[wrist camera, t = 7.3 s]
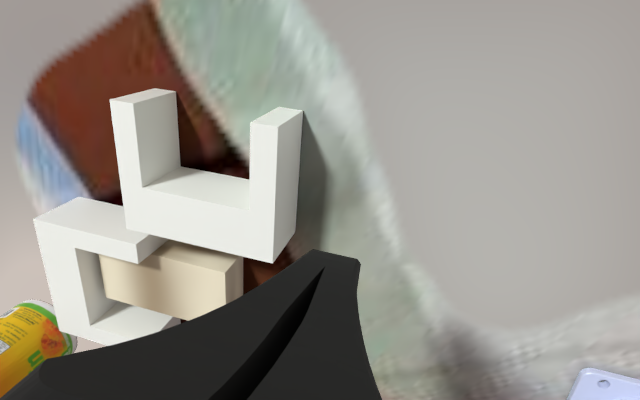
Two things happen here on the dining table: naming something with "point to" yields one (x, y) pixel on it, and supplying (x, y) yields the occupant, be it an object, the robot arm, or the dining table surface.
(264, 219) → the white u-shaped block
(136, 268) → the beige rectangular block
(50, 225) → the end cap
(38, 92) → the dining table surface
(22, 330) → the supplement bottle
